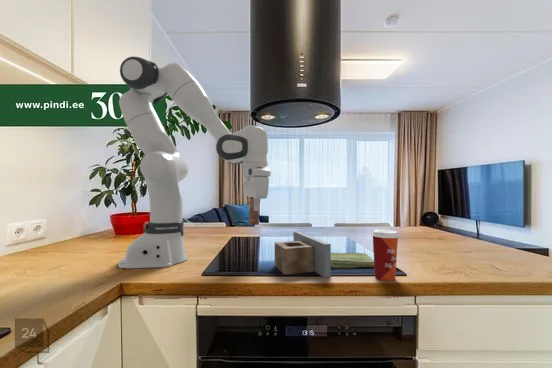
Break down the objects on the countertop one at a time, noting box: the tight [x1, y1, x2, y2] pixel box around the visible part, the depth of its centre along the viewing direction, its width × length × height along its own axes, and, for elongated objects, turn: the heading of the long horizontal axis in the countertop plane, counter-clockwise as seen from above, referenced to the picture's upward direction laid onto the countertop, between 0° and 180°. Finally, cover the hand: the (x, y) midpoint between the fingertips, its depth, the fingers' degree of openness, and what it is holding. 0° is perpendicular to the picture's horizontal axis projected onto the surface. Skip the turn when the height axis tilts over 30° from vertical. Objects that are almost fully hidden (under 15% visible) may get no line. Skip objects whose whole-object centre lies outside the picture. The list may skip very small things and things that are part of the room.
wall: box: [292, 230, 332, 279], centre depth 98 cm, size 2×24×10 cm, turn 19°
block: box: [274, 240, 315, 275], centre depth 96 cm, size 10×10×8 cm
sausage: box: [248, 197, 260, 226], centre depth 104 cm, size 4×4×12 cm
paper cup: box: [371, 229, 400, 282], centre depth 87 cm, size 8×8×14 cm
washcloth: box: [331, 252, 374, 269], centre depth 103 cm, size 13×18×3 cm
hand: (254, 210), depth 104 cm, fingers closed on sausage, 3 cm apart
